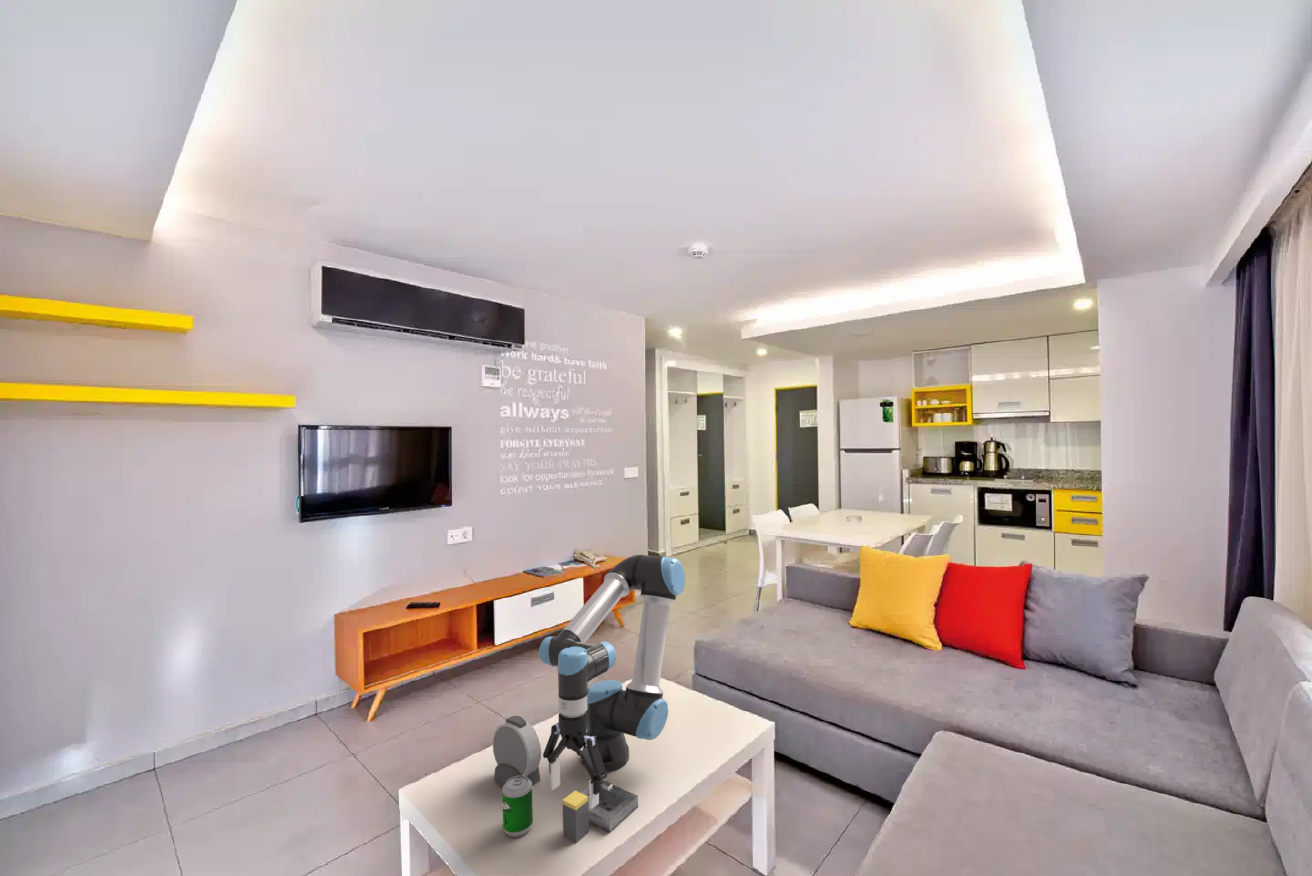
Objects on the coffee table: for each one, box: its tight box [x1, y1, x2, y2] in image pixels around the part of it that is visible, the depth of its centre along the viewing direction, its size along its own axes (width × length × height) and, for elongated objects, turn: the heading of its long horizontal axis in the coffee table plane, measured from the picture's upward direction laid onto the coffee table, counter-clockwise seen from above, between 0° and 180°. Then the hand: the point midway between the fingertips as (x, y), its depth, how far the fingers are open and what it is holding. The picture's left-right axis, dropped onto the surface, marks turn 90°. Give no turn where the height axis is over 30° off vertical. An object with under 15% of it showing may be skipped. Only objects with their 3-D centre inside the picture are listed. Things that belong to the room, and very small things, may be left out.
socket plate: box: [581, 779, 639, 833], centre depth 147 cm, size 14×12×4 cm
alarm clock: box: [492, 715, 542, 789], centre depth 162 cm, size 16×10×18 cm, turn 56°
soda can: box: [501, 775, 534, 838], centre depth 140 cm, size 8×8×12 cm
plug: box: [562, 790, 590, 844], centre depth 138 cm, size 5×5×9 cm
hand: (574, 796), depth 138 cm, fingers open, 13 cm apart
